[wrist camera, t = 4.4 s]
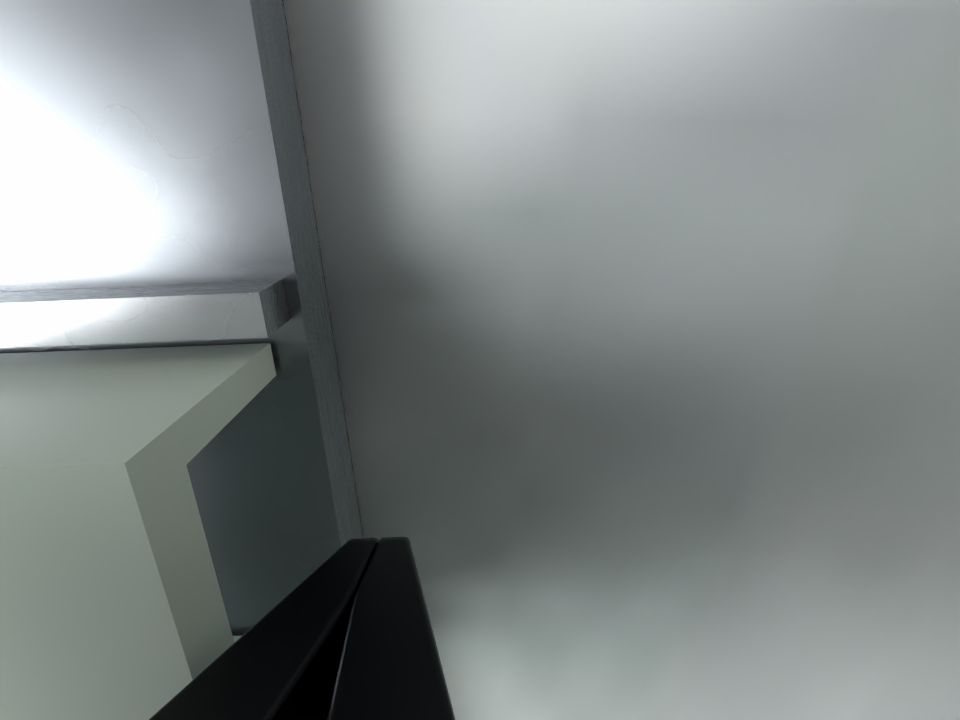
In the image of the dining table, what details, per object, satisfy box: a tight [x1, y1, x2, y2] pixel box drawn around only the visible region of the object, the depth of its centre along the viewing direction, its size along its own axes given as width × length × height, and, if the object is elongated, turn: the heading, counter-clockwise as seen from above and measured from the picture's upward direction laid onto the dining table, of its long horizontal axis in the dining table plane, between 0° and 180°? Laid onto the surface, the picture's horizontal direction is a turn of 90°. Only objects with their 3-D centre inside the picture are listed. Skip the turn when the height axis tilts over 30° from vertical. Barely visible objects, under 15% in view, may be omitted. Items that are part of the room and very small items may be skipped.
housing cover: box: [0, 343, 276, 720], centre depth 7 cm, size 4×6×3 cm
